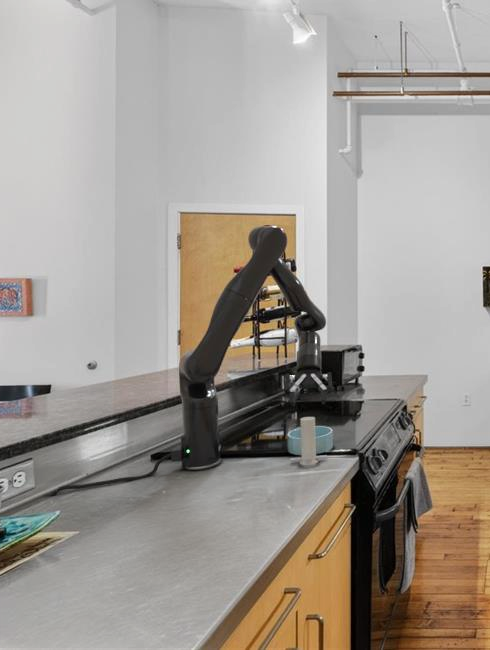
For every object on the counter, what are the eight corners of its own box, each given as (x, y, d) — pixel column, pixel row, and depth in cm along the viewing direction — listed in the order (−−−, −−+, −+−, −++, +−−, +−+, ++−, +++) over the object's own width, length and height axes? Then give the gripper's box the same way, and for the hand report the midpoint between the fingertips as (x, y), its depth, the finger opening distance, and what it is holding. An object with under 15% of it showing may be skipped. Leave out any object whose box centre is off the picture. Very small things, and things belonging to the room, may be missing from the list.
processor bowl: (285, 458, 138) (285, 440, 138) (290, 444, 151) (289, 427, 151) (333, 454, 141) (332, 436, 141) (333, 441, 154) (332, 424, 154)
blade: (289, 471, 128) (287, 423, 128) (292, 460, 137) (290, 416, 136) (326, 467, 130) (325, 421, 130) (327, 457, 139) (326, 413, 138)
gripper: (285, 354, 146) (282, 398, 135) (331, 352, 149) (332, 395, 138) (287, 368, 152) (284, 412, 141) (332, 366, 155) (333, 409, 144)
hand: (308, 403), depth 140 cm, fingers open, 8 cm apart
